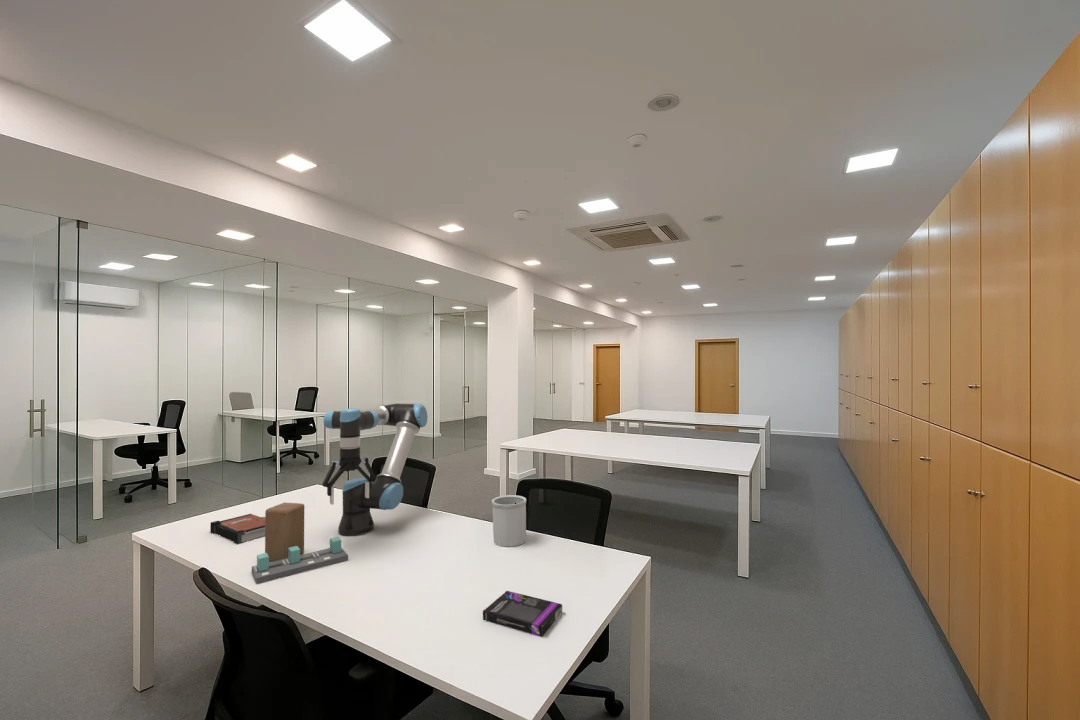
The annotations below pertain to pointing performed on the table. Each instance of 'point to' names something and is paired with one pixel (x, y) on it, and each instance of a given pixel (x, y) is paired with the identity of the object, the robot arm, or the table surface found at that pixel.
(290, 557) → the slider
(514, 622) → the box
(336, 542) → the slider
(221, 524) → the book
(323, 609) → the table surface
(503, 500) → the utensil holder
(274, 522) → the wooden block
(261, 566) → the slider
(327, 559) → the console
